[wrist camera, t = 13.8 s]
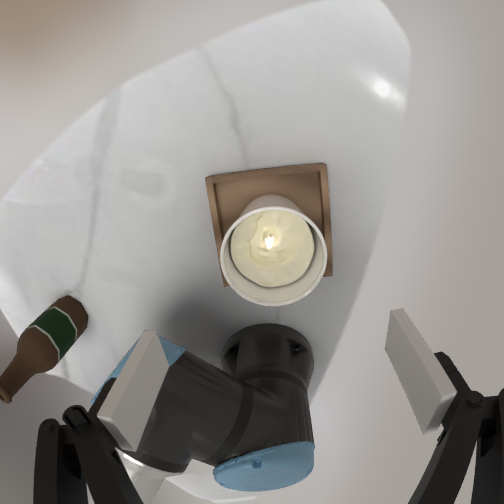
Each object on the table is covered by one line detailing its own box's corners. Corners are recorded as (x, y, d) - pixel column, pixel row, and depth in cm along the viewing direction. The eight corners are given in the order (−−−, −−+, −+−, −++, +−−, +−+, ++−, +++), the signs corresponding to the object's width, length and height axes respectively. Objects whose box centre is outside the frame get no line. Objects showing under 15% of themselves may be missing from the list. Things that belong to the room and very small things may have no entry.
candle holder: (247, 177, 35) (237, 191, 24) (320, 202, 36) (344, 228, 25) (224, 247, 39) (208, 289, 28) (294, 269, 39) (303, 318, 28)
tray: (328, 268, 40) (332, 275, 38) (226, 278, 41) (224, 286, 39) (322, 163, 35) (326, 164, 33) (209, 175, 36) (205, 177, 34)
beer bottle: (53, 307, 46) (-21, 383, 24) (66, 286, 44) (-18, 366, 21) (80, 335, 48) (15, 420, 25) (96, 317, 46) (23, 409, 23)
